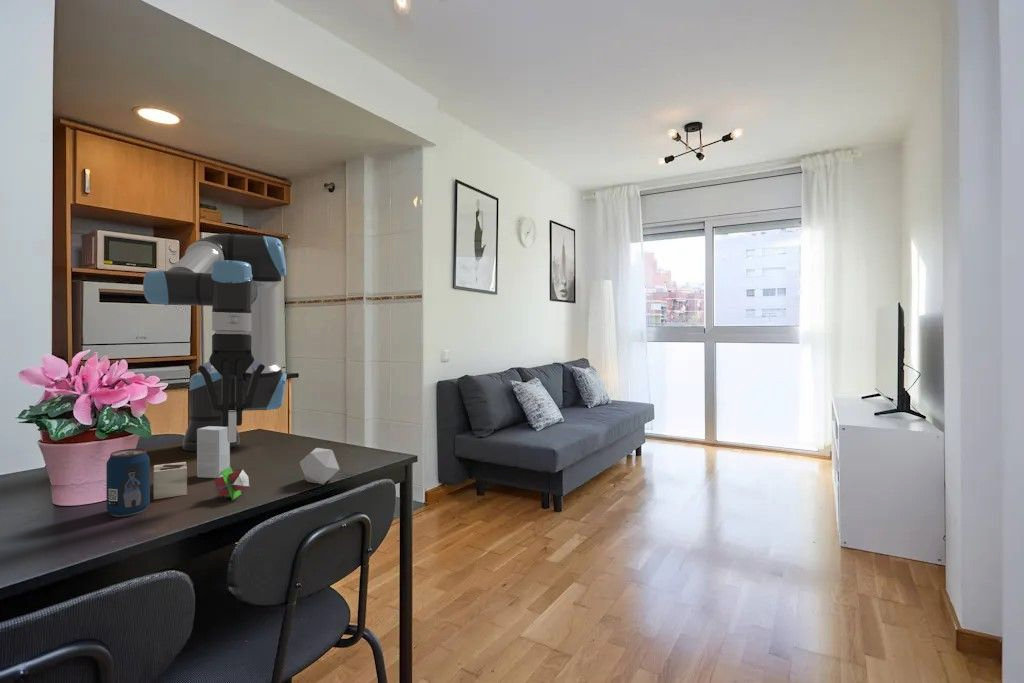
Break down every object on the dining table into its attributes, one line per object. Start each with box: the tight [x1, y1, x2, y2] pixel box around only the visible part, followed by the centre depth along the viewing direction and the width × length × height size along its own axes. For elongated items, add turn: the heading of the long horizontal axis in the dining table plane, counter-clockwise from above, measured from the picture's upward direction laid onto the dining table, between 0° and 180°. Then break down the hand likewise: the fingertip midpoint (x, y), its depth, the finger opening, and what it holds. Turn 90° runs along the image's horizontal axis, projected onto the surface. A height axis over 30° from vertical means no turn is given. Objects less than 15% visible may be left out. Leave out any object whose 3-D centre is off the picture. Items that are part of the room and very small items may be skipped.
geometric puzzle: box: [212, 466, 251, 501], centre depth 111 cm, size 7×7×8 cm
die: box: [298, 447, 341, 485], centre depth 123 cm, size 8×9×10 cm
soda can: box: [105, 448, 151, 518], centre depth 102 cm, size 7×7×12 cm
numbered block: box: [153, 461, 188, 500], centre depth 113 cm, size 6×6×6 cm
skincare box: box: [196, 426, 231, 479], centre depth 126 cm, size 6×4×12 cm
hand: (231, 440), depth 111 cm, fingers closed
